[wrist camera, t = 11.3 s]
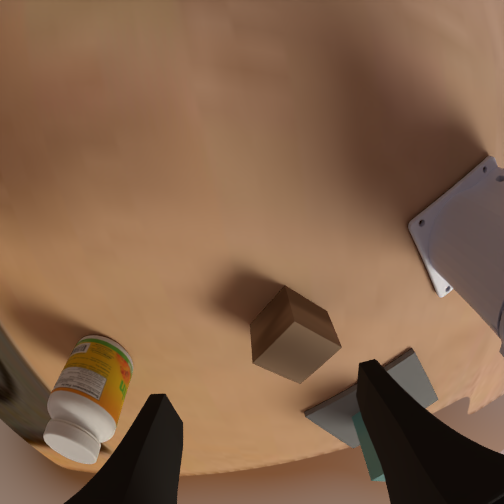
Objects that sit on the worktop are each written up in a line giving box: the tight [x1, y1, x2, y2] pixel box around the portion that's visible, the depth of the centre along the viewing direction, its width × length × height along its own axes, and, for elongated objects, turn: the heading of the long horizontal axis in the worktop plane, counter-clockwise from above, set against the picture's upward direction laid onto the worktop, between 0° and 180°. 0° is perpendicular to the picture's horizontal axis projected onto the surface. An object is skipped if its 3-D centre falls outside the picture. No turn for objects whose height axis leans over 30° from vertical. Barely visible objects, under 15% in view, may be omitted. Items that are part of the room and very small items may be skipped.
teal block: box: [352, 411, 385, 481], centre depth 23 cm, size 4×4×8 cm
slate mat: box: [304, 349, 438, 448], centre depth 27 cm, size 12×12×1 cm
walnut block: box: [250, 286, 342, 384], centre depth 20 cm, size 4×4×4 cm
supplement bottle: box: [43, 335, 133, 464], centre depth 18 cm, size 5×5×10 cm
